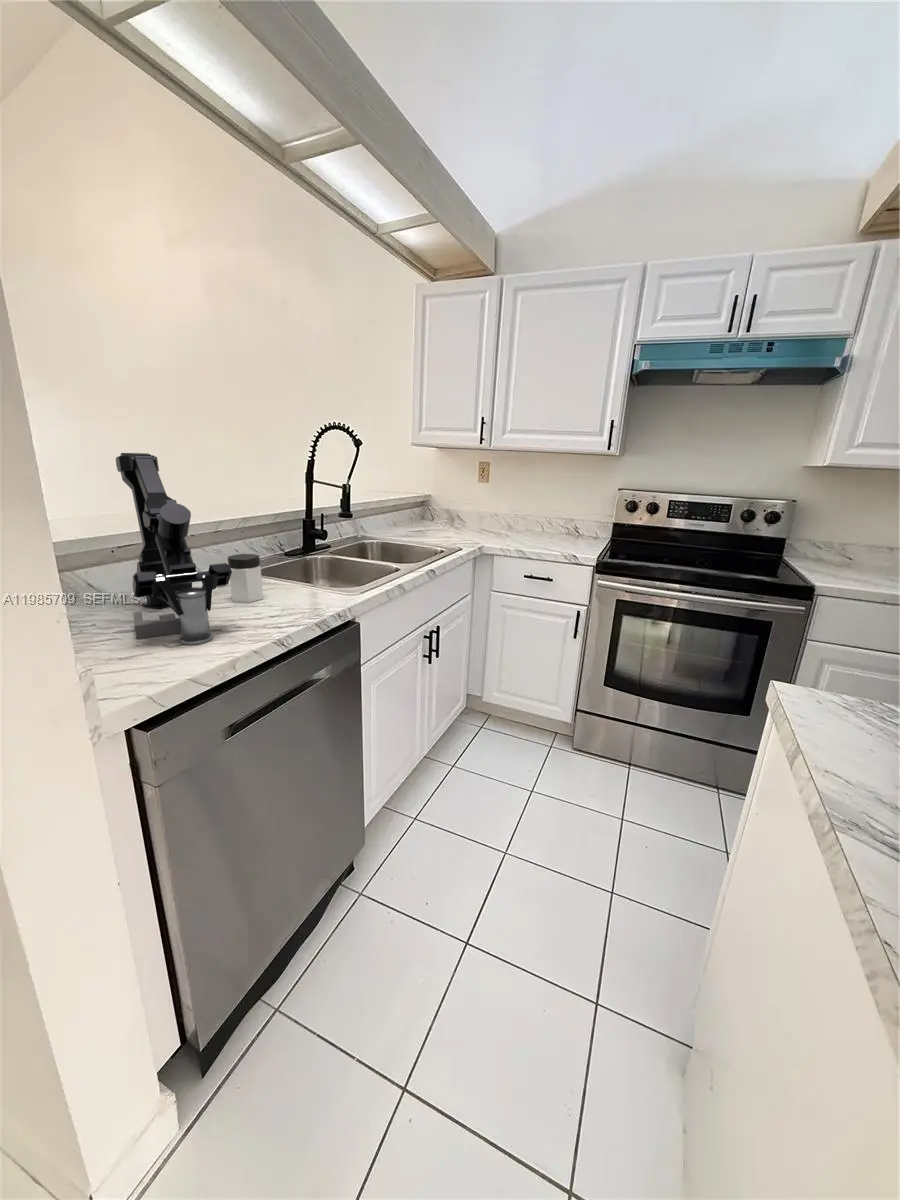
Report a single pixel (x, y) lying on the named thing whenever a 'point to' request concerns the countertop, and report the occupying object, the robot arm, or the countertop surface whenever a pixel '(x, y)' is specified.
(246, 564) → the jar
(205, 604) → the dark grey flanged cylinder
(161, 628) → the u-shaped bracket
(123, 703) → the countertop surface
